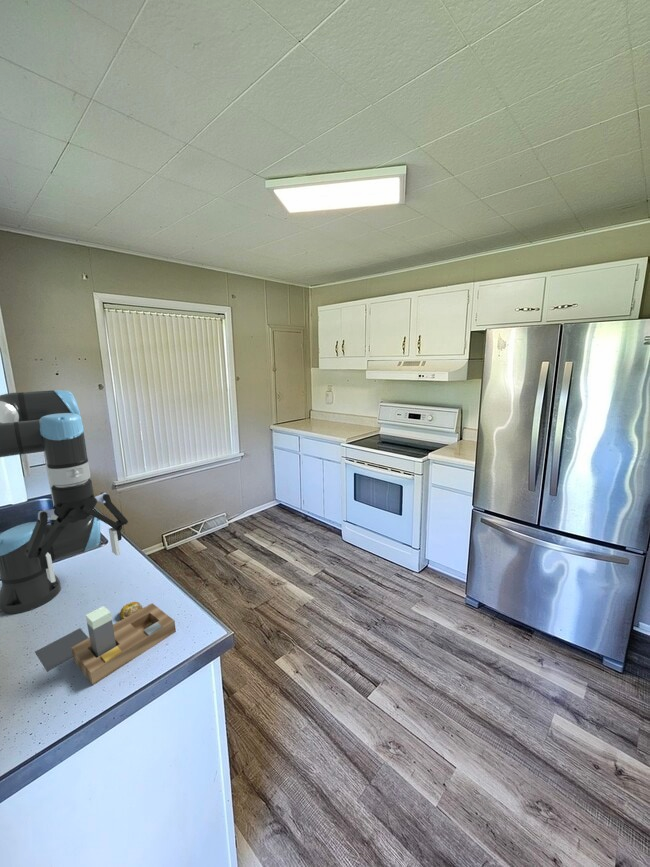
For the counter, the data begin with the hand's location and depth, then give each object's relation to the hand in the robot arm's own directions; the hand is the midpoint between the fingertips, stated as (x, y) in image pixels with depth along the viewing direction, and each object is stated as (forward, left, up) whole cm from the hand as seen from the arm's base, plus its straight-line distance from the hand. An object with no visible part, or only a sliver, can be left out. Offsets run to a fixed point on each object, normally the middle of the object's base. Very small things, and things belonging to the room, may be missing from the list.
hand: (85, 565), depth 85 cm
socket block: (+4, +5, -24) cm, 25 cm away
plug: (+4, 0, -23) cm, 24 cm away
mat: (-8, -5, -24) cm, 26 cm away
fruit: (-6, +11, -25) cm, 28 cm away
